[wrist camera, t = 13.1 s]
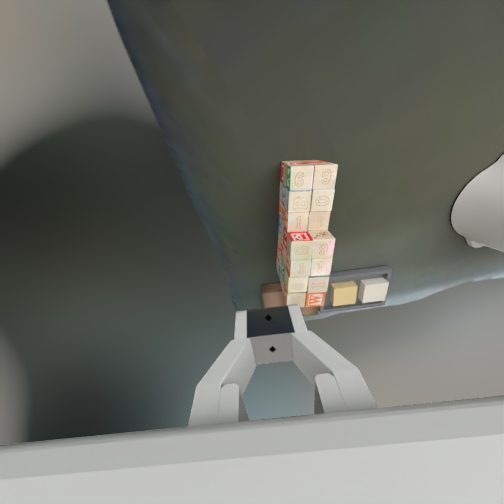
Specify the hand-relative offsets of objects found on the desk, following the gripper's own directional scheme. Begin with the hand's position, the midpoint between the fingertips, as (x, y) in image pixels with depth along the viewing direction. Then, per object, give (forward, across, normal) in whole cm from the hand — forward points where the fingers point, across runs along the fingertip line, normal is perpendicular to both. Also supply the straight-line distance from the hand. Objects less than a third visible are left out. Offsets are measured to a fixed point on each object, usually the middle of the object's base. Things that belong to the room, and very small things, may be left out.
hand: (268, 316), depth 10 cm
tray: (+29, -20, +24) cm, 43 cm away
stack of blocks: (+30, -7, +6) cm, 31 cm away
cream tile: (+26, -24, +25) cm, 43 cm away
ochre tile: (+28, -17, +25) cm, 41 cm away
